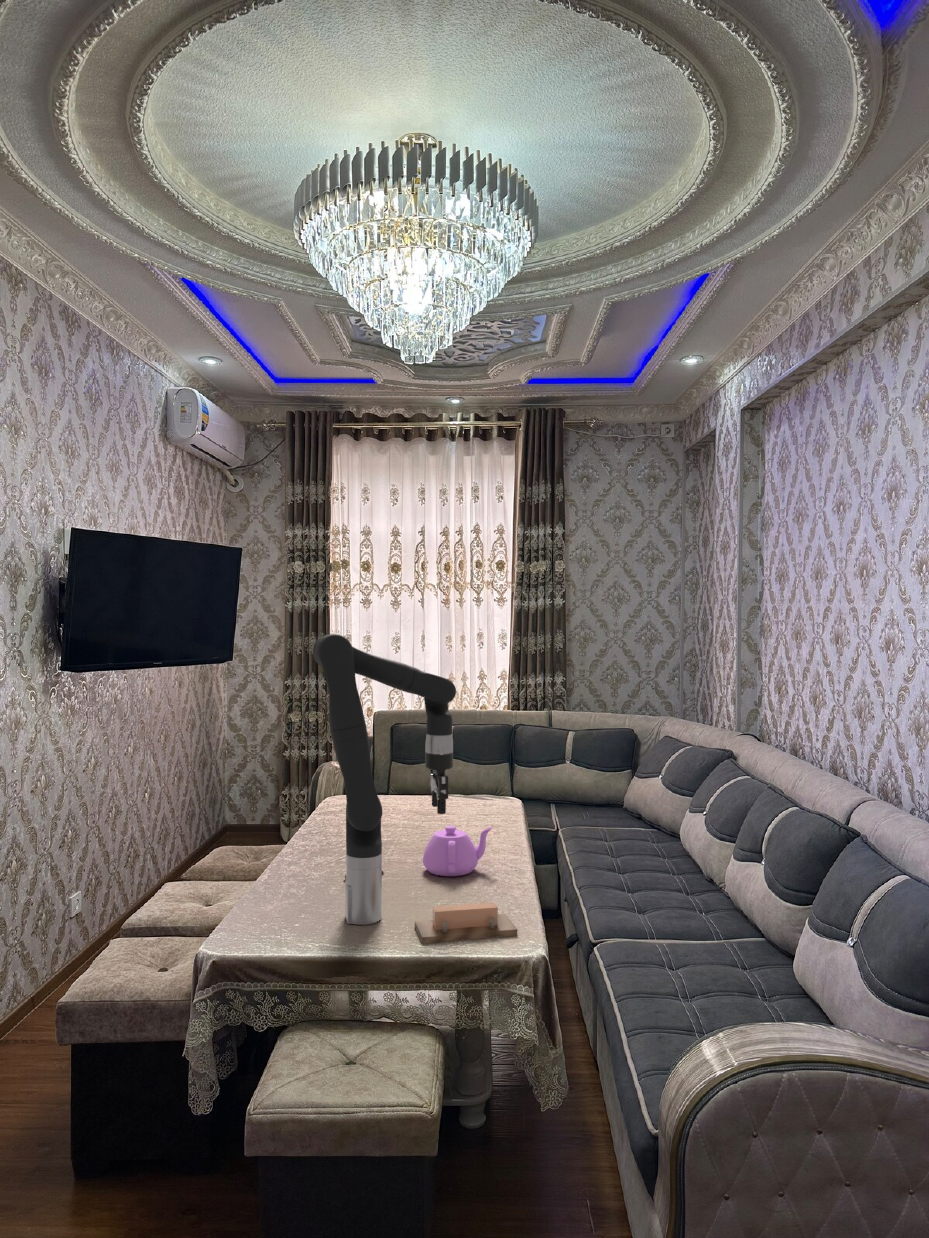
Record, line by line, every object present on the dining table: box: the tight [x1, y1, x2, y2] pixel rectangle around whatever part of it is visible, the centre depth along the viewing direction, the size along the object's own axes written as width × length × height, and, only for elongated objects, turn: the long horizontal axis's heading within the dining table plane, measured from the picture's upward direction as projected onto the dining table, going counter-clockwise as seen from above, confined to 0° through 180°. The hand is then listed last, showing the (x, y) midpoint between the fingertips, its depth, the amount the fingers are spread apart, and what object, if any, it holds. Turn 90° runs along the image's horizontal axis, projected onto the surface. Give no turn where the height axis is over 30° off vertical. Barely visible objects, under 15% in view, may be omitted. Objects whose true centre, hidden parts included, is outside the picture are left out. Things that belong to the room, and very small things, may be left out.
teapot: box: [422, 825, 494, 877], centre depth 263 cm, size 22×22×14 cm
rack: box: [414, 913, 518, 944], centre depth 213 cm, size 24×11×4 cm, turn 103°
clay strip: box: [432, 902, 499, 930], centre depth 213 cm, size 16×4×4 cm, turn 102°
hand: (438, 810), depth 230 cm, fingers open, 8 cm apart
